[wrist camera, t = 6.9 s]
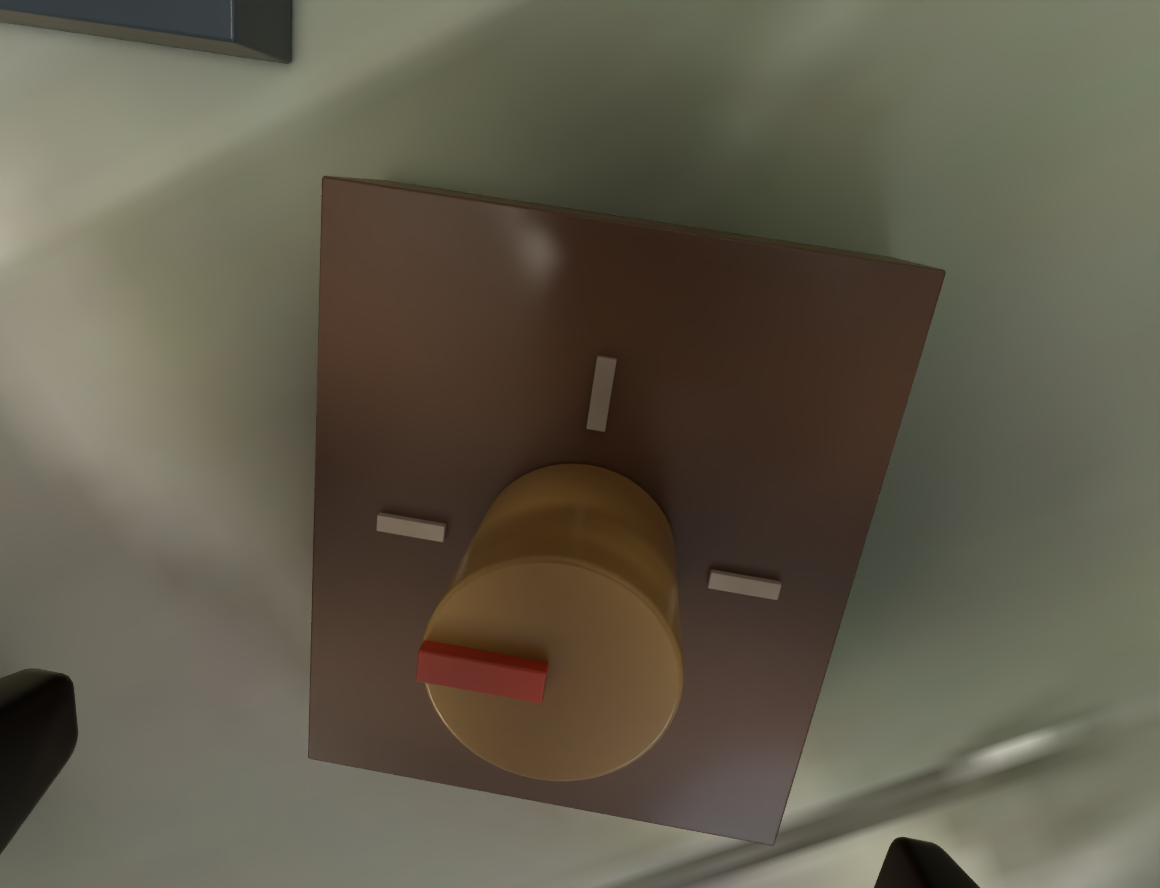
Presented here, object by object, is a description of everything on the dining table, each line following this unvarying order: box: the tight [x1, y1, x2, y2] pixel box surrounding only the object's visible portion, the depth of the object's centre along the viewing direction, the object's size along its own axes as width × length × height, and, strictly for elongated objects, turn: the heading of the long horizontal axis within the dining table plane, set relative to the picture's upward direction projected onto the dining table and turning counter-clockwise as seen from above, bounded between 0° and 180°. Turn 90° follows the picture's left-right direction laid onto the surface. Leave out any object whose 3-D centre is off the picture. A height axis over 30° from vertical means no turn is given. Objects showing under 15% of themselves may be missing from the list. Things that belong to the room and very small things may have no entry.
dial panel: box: [308, 176, 946, 846], centre depth 16 cm, size 13×11×3 cm
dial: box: [416, 464, 684, 781], centre depth 13 cm, size 4×4×4 cm
